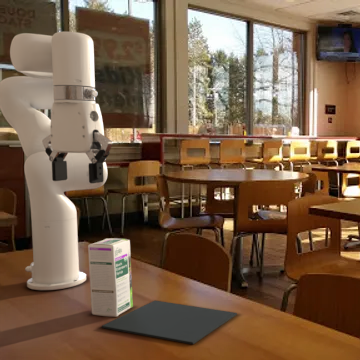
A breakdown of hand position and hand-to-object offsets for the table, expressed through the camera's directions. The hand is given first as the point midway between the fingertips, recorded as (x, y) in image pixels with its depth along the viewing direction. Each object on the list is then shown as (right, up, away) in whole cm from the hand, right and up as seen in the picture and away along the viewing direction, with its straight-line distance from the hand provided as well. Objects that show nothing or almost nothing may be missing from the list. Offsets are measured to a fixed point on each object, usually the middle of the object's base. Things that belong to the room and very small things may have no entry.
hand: (78, 181), depth 101 cm
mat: (+21, -27, -5) cm, 34 cm away
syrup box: (+7, -27, 0) cm, 28 cm away
